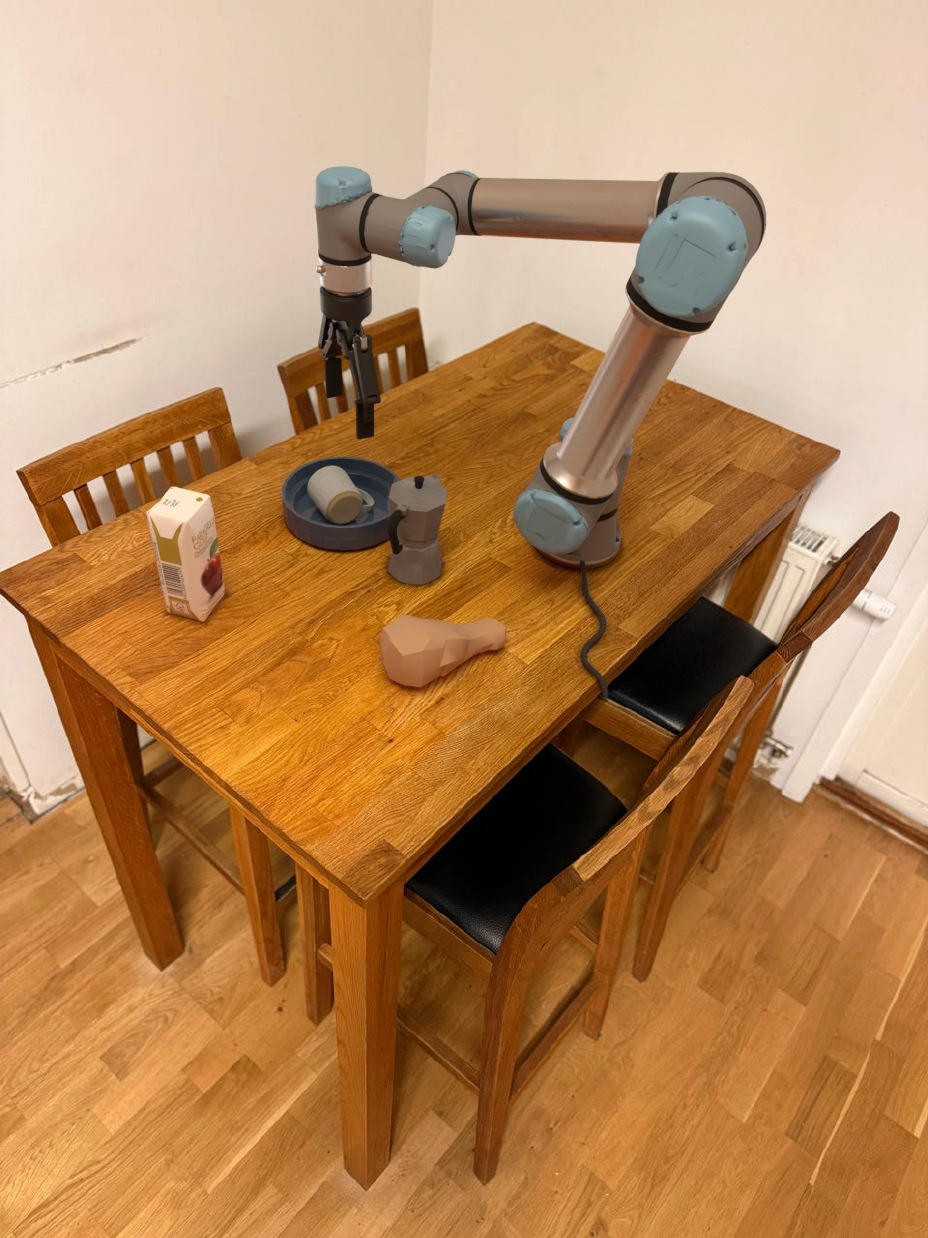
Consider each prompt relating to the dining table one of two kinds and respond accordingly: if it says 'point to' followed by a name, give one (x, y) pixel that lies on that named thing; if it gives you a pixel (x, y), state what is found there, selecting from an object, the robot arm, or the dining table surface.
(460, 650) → the raw chicken drumstick
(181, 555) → the juice carton
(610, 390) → the robot arm
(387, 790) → the dining table surface
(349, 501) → the ceramic mug
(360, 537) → the bowl
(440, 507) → the coffeepot
